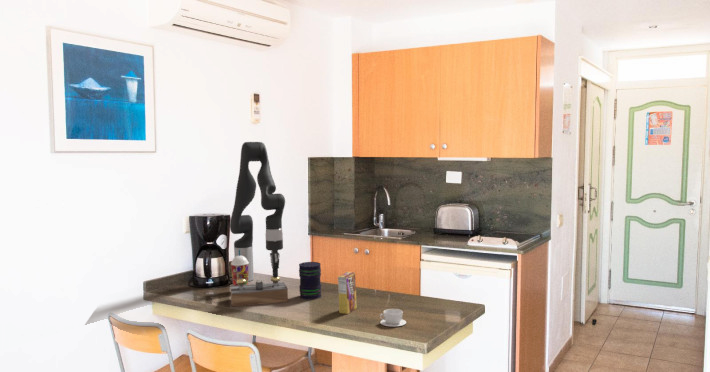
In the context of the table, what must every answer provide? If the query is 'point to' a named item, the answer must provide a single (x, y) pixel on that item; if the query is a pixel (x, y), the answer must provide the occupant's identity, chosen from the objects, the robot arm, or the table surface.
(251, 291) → the mount
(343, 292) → the candy box
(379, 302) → the table surface
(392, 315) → the teacup
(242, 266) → the smoothie
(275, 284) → the knob
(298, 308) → the table surface
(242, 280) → the knob
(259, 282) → the cylinder
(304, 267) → the storage jar
